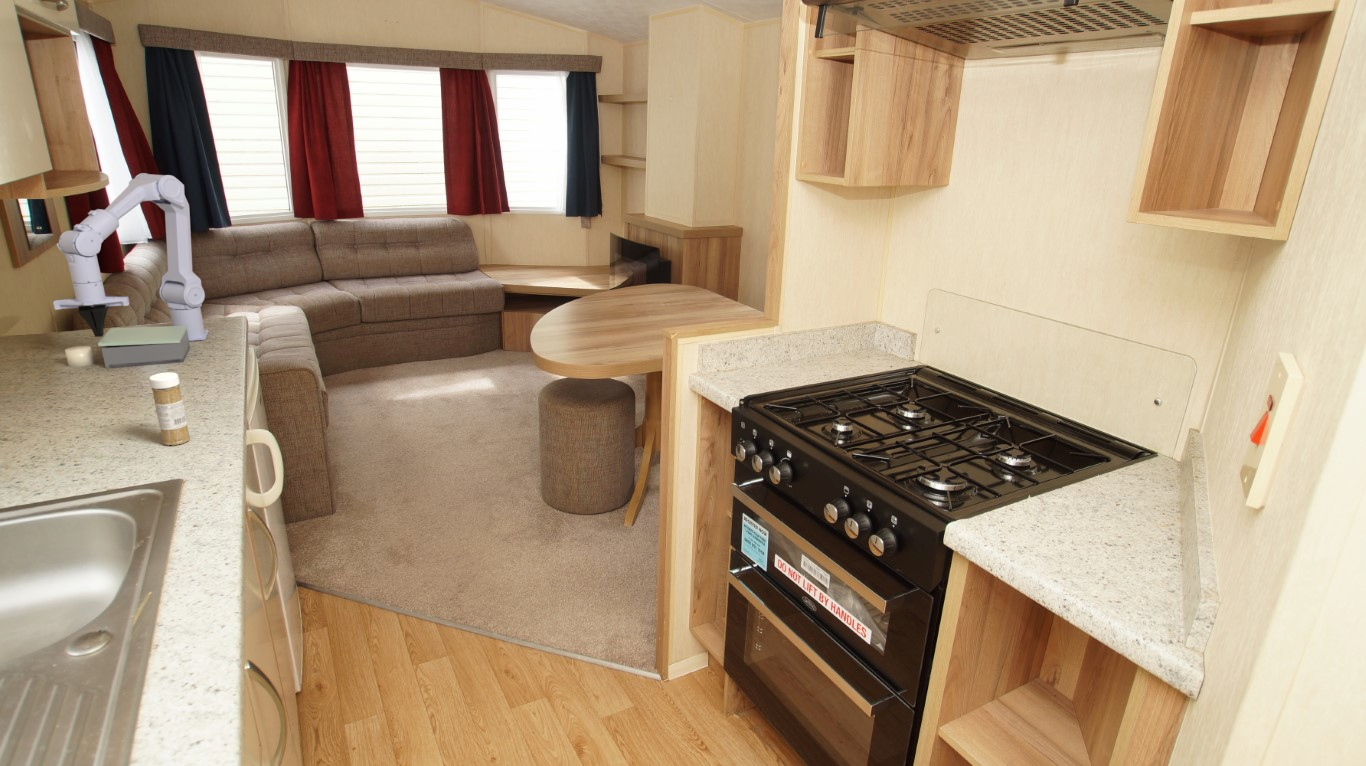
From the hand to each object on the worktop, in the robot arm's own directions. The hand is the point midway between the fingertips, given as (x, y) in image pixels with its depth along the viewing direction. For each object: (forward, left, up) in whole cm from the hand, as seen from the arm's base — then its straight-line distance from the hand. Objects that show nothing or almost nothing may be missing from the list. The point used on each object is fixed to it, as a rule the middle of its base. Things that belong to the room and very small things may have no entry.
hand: (99, 335), depth 186 cm
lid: (0, +9, -1) cm, 9 cm away
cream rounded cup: (+1, -5, -7) cm, 8 cm away
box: (0, +9, -6) cm, 11 cm away
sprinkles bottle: (+63, +22, -7) cm, 67 cm away
